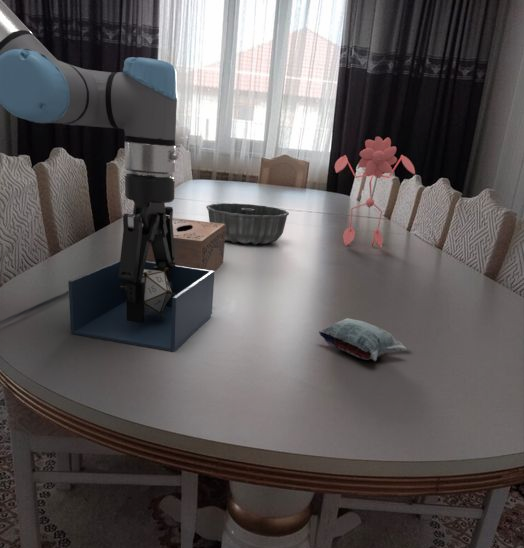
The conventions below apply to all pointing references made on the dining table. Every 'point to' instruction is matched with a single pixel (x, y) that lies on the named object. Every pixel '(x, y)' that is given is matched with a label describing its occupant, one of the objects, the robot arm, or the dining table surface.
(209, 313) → the blue open box
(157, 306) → the game die
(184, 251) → the tissue box cover
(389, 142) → the figurine
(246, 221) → the bundt pan
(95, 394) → the dining table surface
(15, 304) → the dining table surface
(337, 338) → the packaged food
